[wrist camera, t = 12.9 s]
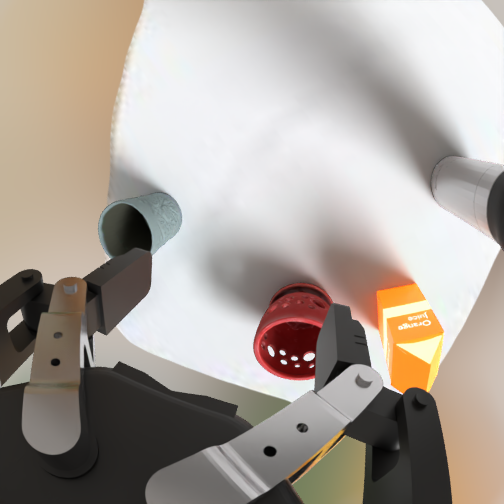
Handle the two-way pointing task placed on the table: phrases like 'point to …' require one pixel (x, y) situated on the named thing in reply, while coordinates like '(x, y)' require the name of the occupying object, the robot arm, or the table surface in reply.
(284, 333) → the plant pot
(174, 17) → the table surface
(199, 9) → the table surface
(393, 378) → the orange juice
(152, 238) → the grey embossed cup
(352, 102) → the table surface
